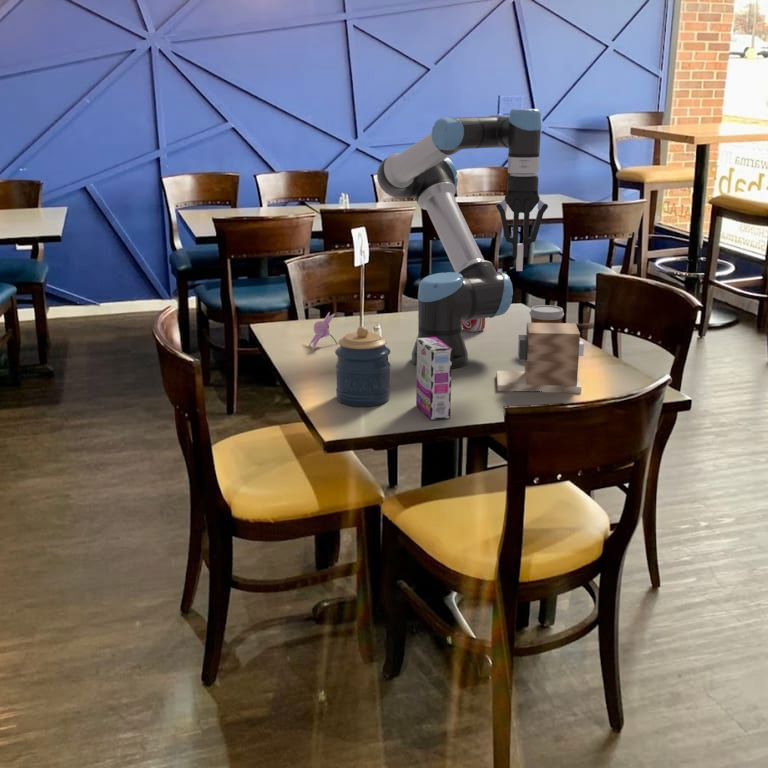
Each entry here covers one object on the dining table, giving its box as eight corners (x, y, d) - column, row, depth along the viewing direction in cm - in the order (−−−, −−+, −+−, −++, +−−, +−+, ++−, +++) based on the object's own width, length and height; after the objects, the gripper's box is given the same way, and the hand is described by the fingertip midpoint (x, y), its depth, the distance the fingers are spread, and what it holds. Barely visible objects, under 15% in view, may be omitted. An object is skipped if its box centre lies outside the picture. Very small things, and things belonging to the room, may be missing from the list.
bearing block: (497, 391, 223) (499, 333, 219) (496, 376, 235) (498, 321, 230) (581, 393, 222) (584, 335, 217) (575, 378, 233) (579, 322, 228)
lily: (318, 341, 272) (302, 316, 267) (353, 328, 268) (338, 302, 263) (312, 364, 262) (296, 338, 257) (348, 351, 258) (332, 324, 253)
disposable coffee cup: (552, 357, 251) (554, 314, 247) (521, 351, 256) (523, 309, 253) (568, 349, 258) (570, 307, 254) (537, 344, 263) (539, 303, 260)
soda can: (486, 333, 275) (487, 293, 272) (462, 333, 275) (463, 293, 272) (483, 327, 282) (485, 288, 278) (461, 327, 282) (461, 288, 278)
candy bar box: (452, 419, 205) (453, 348, 200) (430, 421, 204) (431, 350, 199) (435, 403, 215) (436, 335, 210) (415, 405, 214) (415, 337, 209)
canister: (401, 401, 217) (401, 328, 211) (354, 411, 210) (352, 337, 205) (371, 386, 227) (371, 317, 222) (326, 396, 221) (324, 325, 215)
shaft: (518, 359, 224) (519, 340, 222) (518, 354, 229) (518, 334, 227) (583, 361, 223) (584, 341, 221) (581, 355, 227) (582, 335, 226)
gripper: (496, 175, 221) (493, 272, 229) (551, 176, 220) (546, 273, 227) (495, 173, 228) (493, 266, 236) (548, 173, 227) (544, 267, 235)
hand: (519, 269), depth 232 cm, fingers closed
